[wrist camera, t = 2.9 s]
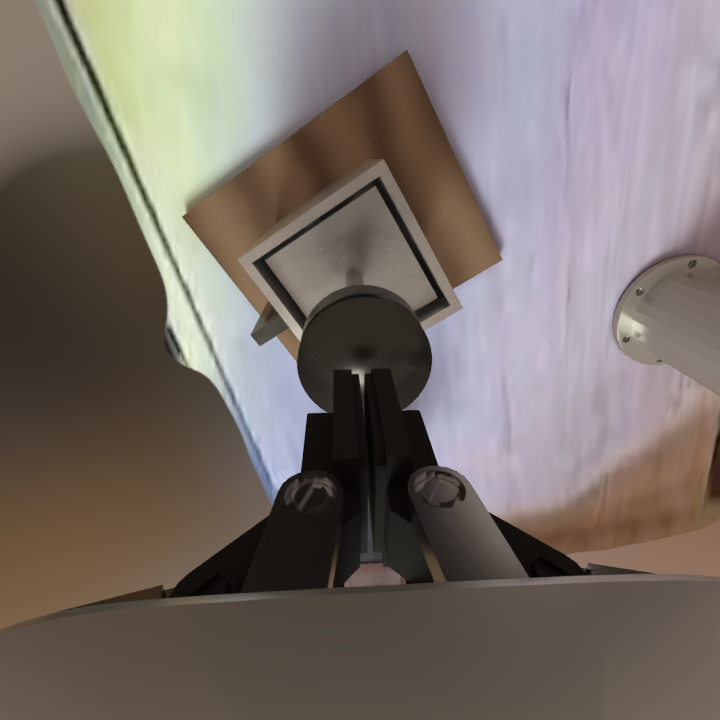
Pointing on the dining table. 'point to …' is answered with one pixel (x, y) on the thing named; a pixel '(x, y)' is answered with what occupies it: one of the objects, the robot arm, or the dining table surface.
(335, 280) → the plunger
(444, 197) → the walnut board
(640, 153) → the dining table surface
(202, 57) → the dining table surface
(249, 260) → the open box
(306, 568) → the robot arm
